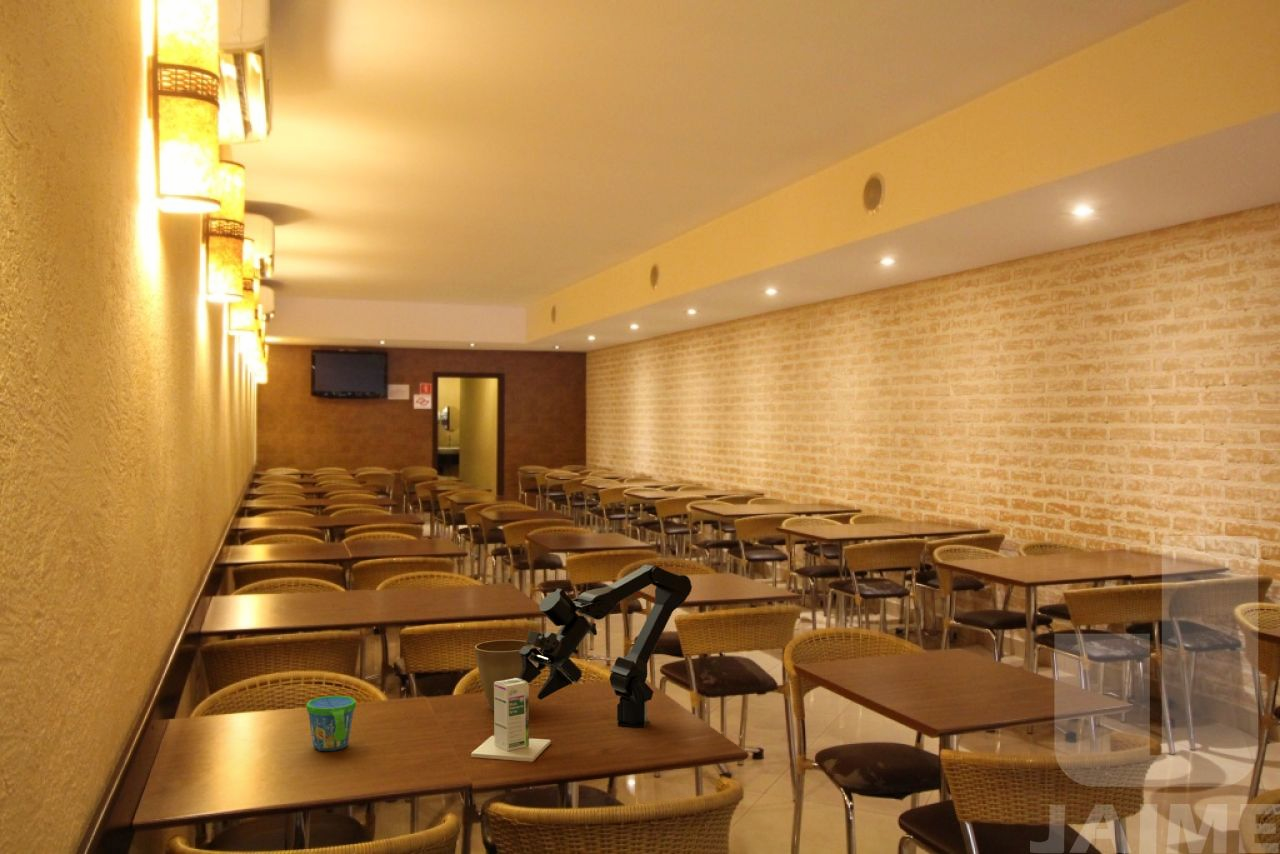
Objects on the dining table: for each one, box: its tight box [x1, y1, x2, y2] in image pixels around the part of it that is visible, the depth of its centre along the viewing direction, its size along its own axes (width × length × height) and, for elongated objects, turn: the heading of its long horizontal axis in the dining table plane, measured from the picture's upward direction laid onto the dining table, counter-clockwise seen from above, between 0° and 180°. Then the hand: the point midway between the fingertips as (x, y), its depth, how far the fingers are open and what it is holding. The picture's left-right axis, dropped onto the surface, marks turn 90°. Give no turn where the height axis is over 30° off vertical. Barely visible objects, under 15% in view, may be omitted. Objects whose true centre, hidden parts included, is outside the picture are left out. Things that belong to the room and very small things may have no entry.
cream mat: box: [470, 735, 551, 763], centre depth 229 cm, size 14×13×1 cm
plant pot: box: [474, 639, 535, 711], centre depth 263 cm, size 15×15×16 cm
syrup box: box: [493, 678, 530, 751], centre depth 229 cm, size 6×6×14 cm
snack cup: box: [305, 695, 357, 752], centre depth 231 cm, size 16×10×10 cm
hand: (527, 694), depth 232 cm, fingers open, 9 cm apart
